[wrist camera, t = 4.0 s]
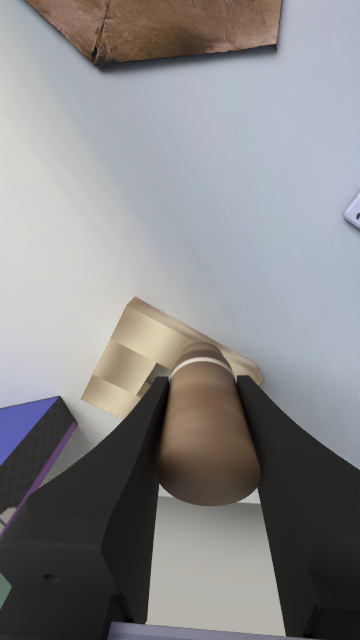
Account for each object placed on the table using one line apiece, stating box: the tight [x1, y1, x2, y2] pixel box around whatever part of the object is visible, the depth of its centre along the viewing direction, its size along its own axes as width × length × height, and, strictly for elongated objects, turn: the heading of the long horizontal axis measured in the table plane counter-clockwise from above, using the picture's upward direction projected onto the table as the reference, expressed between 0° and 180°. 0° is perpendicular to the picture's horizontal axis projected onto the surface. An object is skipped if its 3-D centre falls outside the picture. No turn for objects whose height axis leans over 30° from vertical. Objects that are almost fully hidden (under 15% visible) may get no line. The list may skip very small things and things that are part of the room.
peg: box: [156, 342, 261, 506], centre depth 10 cm, size 4×4×7 cm
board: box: [81, 297, 264, 419], centre depth 21 cm, size 14×12×2 cm
